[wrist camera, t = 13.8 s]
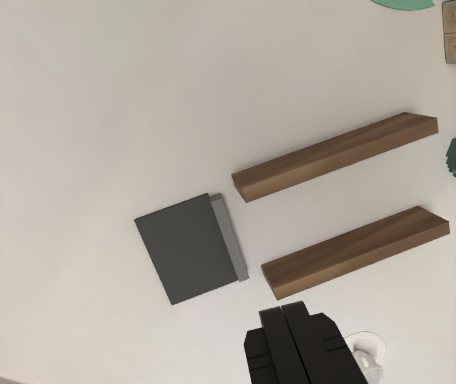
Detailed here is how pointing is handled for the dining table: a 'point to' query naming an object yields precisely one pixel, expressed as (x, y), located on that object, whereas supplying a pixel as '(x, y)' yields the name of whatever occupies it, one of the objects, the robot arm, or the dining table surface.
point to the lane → (357, 239)
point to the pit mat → (193, 247)
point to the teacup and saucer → (364, 361)
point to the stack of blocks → (450, 30)
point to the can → (452, 157)
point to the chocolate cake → (406, 4)
